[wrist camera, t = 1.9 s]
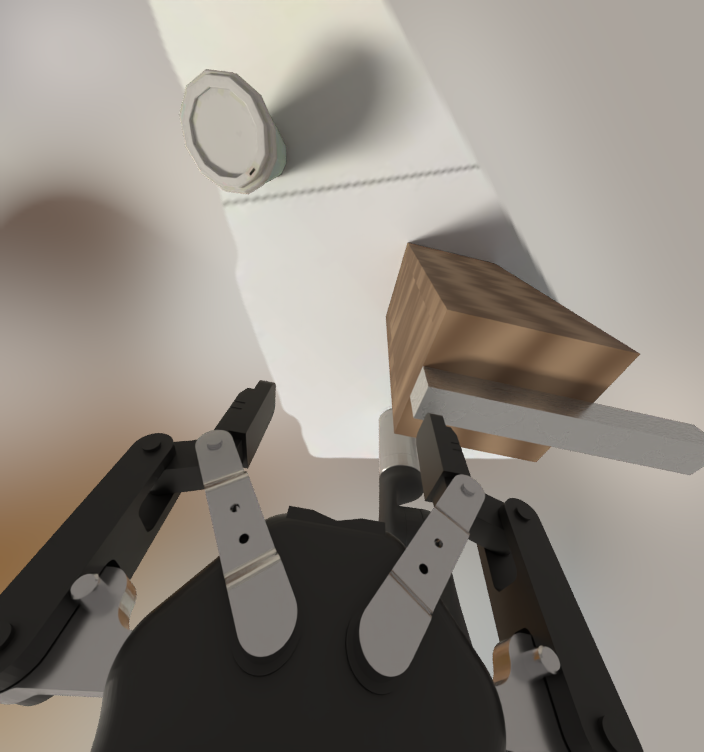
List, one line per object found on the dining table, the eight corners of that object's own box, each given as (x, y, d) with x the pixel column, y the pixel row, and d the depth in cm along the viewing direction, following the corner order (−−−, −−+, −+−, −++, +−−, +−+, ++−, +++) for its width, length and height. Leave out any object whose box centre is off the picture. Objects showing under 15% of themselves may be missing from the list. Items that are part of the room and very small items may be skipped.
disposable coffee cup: (218, 145, 41) (151, 126, 29) (263, 79, 37) (206, 23, 24) (271, 208, 45) (231, 215, 33) (316, 156, 41) (290, 141, 29)
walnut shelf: (494, 263, 48) (640, 354, 21) (460, 333, 56) (536, 462, 29) (407, 242, 47) (447, 309, 20) (385, 316, 55) (393, 433, 28)
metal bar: (693, 424, 25) (728, 450, 22) (661, 449, 27) (690, 475, 24) (422, 366, 23) (428, 386, 21) (410, 396, 25) (413, 418, 23)
